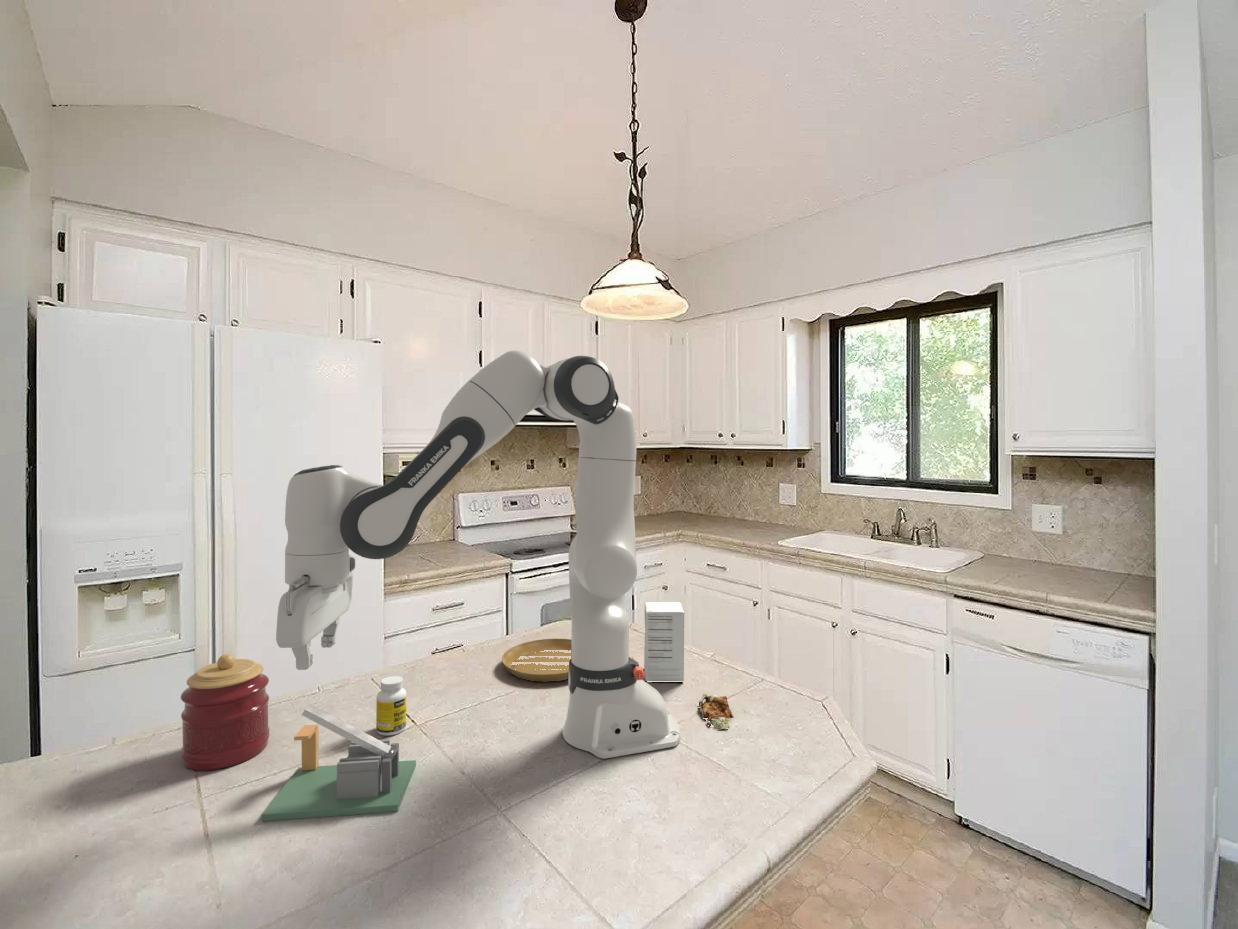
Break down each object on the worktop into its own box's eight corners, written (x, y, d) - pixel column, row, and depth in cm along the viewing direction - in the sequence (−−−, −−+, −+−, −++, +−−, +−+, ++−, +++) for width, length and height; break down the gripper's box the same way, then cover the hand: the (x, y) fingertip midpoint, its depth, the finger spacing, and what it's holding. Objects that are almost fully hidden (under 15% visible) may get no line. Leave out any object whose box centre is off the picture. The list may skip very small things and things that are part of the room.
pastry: (708, 733, 111) (708, 715, 111) (693, 705, 123) (693, 689, 123) (743, 731, 112) (743, 713, 112) (724, 703, 124) (725, 687, 123)
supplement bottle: (396, 738, 107) (395, 686, 107) (370, 735, 108) (370, 684, 108) (412, 724, 113) (411, 675, 112) (387, 721, 114) (387, 673, 113)
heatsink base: (415, 766, 98) (415, 729, 98) (397, 811, 86) (397, 769, 86) (298, 773, 96) (298, 735, 95) (262, 821, 83) (261, 778, 83)
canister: (285, 743, 105) (284, 649, 105) (210, 780, 93) (208, 674, 93) (241, 728, 111) (240, 638, 110) (165, 761, 99) (163, 661, 98)
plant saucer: (511, 693, 128) (511, 679, 128) (494, 657, 150) (494, 644, 150) (612, 678, 136) (612, 665, 136) (582, 646, 159) (582, 634, 159)
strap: (394, 754, 93) (399, 747, 93) (389, 765, 90) (394, 757, 90) (307, 708, 91) (312, 701, 91) (299, 717, 88) (304, 709, 88)
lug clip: (318, 765, 96) (318, 724, 96) (308, 779, 92) (308, 736, 92) (304, 766, 96) (304, 724, 95) (294, 780, 92) (294, 736, 92)
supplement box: (684, 684, 133) (685, 612, 133) (645, 683, 133) (645, 612, 133) (680, 668, 143) (681, 601, 142) (643, 667, 143) (644, 601, 142)
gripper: (311, 584, 79) (311, 683, 80) (359, 556, 99) (359, 635, 100) (263, 585, 78) (262, 684, 79) (321, 557, 99) (320, 636, 99)
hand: (317, 656), depth 89 cm, fingers open, 8 cm apart
